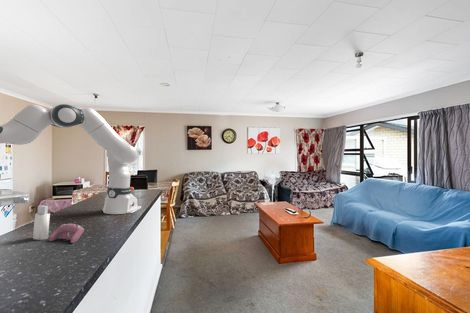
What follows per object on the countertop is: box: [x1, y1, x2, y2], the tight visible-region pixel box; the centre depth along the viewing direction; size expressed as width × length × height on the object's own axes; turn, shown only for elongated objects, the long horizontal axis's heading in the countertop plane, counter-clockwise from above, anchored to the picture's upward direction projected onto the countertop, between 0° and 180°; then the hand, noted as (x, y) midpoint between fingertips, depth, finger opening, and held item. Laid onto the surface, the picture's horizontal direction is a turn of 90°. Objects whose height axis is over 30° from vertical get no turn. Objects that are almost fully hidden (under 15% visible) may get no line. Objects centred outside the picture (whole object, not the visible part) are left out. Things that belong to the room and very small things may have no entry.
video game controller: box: [49, 223, 85, 244], centre depth 84 cm, size 10×5×7 cm, turn 84°
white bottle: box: [32, 205, 51, 241], centre depth 84 cm, size 3×5×12 cm, turn 82°
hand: (13, 202), depth 86 cm, fingers open, 8 cm apart
